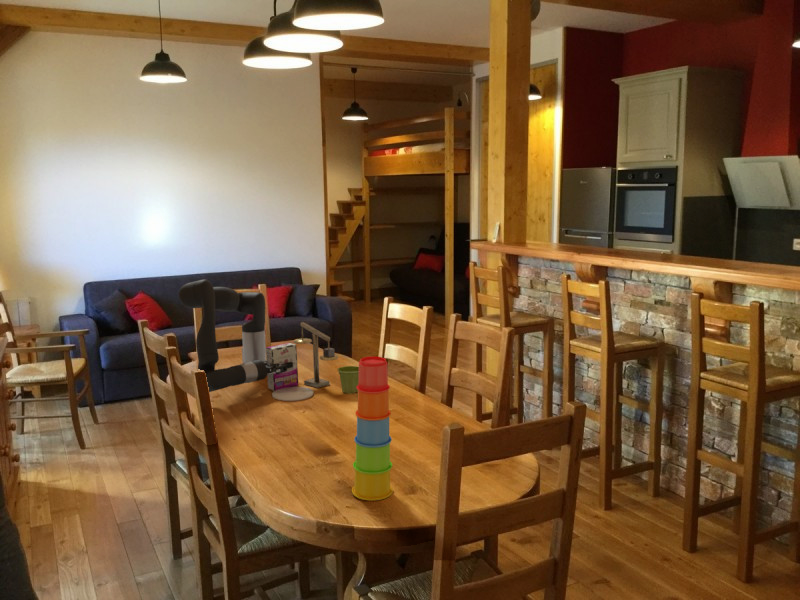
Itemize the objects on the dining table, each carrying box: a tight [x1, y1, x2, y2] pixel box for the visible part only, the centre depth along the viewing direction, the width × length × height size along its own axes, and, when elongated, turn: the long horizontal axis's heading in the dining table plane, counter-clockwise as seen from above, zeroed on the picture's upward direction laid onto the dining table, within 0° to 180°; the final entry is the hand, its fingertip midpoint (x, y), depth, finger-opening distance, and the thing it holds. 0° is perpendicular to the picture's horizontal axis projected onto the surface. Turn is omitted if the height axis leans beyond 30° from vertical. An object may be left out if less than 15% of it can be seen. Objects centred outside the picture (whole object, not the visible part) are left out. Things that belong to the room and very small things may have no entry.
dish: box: [271, 386, 314, 402], centre depth 266 cm, size 15×15×1 cm
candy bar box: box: [265, 342, 299, 392], centre depth 275 cm, size 11×5×16 cm, turn 132°
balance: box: [293, 321, 339, 389], centre depth 278 cm, size 22×7×24 cm, turn 47°
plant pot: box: [337, 365, 359, 395], centre depth 269 cm, size 9×9×9 cm
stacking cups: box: [351, 355, 394, 502], centre depth 178 cm, size 10×10×35 cm
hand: (287, 363), depth 277 cm, fingers closed on candy bar box, 5 cm apart
